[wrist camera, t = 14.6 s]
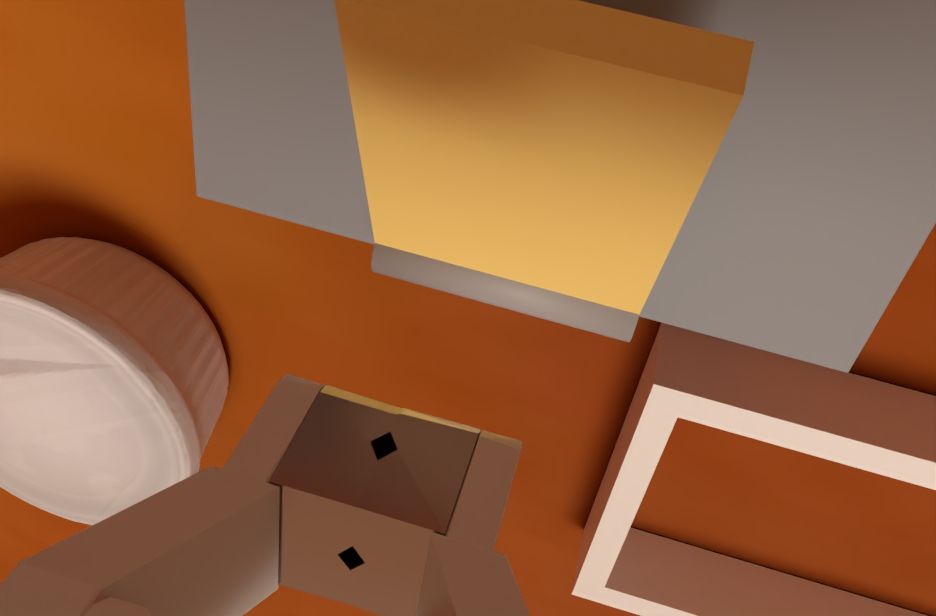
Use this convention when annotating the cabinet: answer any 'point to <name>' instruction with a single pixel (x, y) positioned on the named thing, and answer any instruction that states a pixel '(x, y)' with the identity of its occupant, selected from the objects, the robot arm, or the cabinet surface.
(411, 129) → the yellow rectangular slab
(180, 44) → the cabinet surface
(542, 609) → the cabinet surface
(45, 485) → the ramekin
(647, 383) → the rectangular frame
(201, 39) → the hitch block
